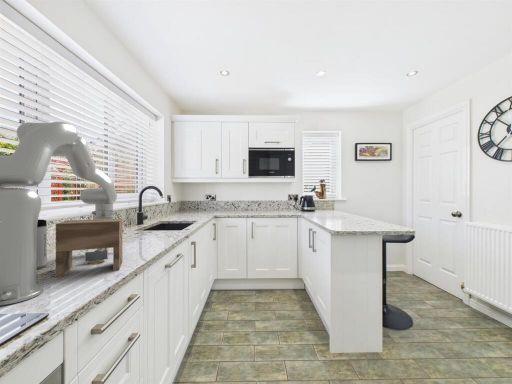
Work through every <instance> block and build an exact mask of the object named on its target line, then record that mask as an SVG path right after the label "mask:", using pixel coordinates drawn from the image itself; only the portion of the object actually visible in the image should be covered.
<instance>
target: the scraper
mask: <svg viewBox="0 0 512 384" xmlns="http://www.w3.org/2000/svg"><path fill="white" fill-rule="evenodd" d="M108 253H109V248H101V249H94V251H87V252H85V258H84V260H85V262H88V261H94V260H105V261H106V260H108V258H109V257H108Z"/></svg>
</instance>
